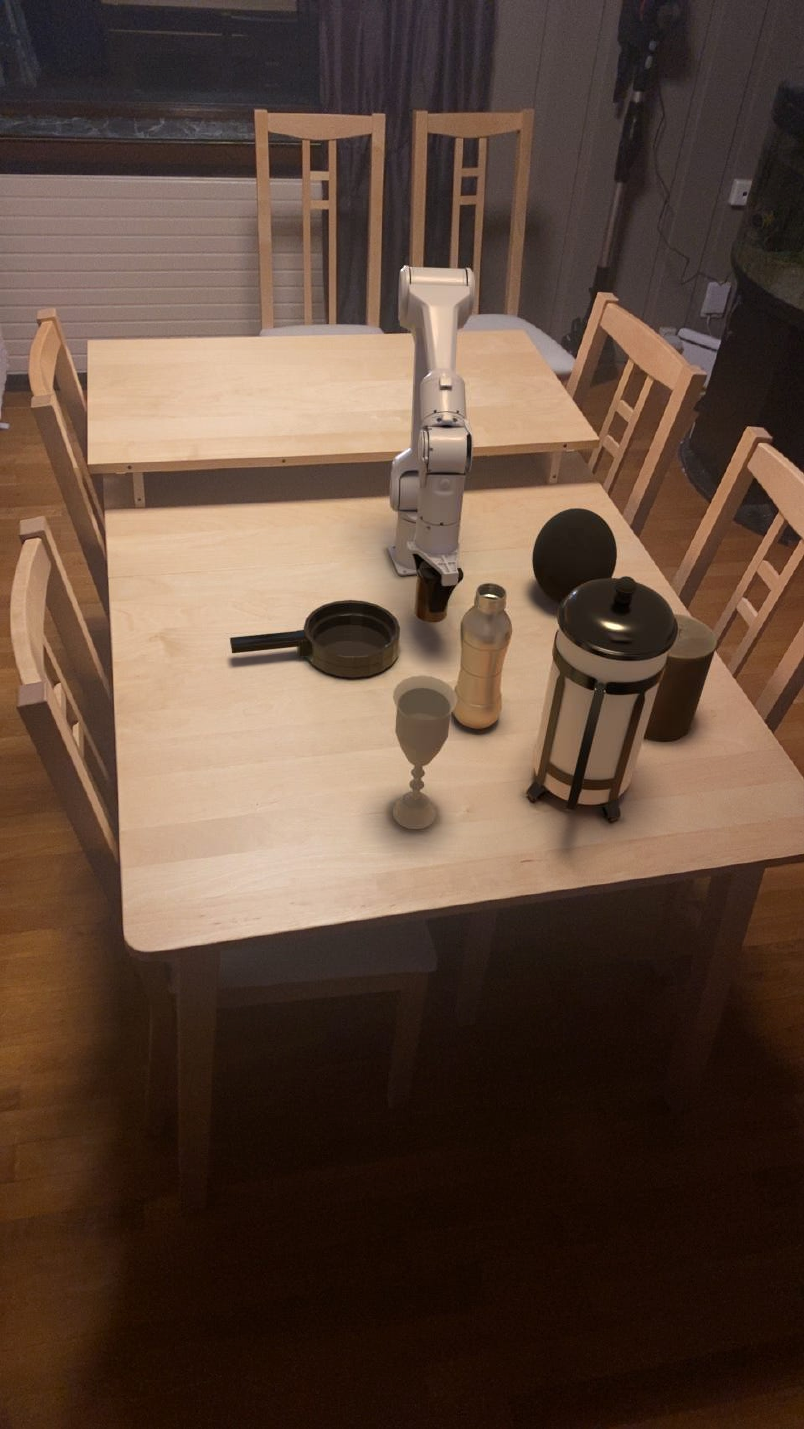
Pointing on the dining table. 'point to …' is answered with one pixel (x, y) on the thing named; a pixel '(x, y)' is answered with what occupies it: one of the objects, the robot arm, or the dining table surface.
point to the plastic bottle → (482, 658)
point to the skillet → (352, 638)
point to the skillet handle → (270, 642)
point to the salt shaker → (425, 600)
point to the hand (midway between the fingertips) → (431, 600)
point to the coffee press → (601, 691)
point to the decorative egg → (573, 552)
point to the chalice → (420, 740)
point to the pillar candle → (682, 680)
